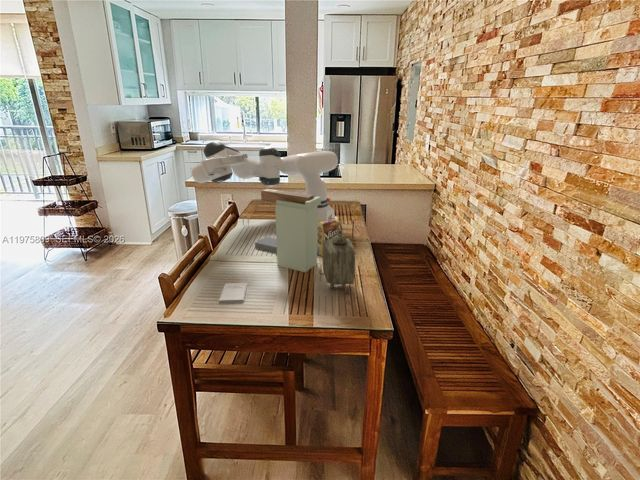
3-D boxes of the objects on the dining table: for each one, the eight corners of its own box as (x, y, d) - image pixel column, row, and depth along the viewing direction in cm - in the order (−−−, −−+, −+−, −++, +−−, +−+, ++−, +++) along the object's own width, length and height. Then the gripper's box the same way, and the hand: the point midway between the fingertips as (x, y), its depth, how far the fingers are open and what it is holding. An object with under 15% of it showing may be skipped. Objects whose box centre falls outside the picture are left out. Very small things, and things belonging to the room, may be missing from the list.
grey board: (266, 241, 179) (266, 236, 179) (317, 252, 167) (317, 247, 166) (255, 247, 172) (254, 242, 171) (307, 259, 160) (307, 254, 159)
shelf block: (289, 257, 162) (288, 192, 151) (320, 264, 155) (320, 196, 145) (277, 265, 154) (275, 197, 144) (308, 273, 148) (308, 202, 137)
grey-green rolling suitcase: (353, 296, 131) (356, 229, 122) (328, 298, 129) (329, 230, 120) (345, 277, 144) (347, 216, 135) (322, 279, 143) (322, 217, 134)
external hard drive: (219, 304, 126) (225, 286, 138) (243, 303, 127) (247, 286, 138) (218, 300, 126) (224, 282, 137) (243, 299, 126) (247, 282, 138)
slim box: (267, 198, 154) (266, 188, 153) (313, 205, 144) (313, 195, 143) (261, 200, 151) (261, 190, 149) (308, 207, 141) (308, 197, 140)
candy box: (321, 256, 163) (322, 223, 157) (316, 253, 166) (316, 221, 161) (338, 252, 168) (339, 220, 162) (332, 249, 171) (333, 217, 165)
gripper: (236, 170, 174) (257, 161, 166) (203, 176, 158) (224, 166, 150) (232, 157, 173) (252, 147, 165) (197, 161, 157) (218, 151, 149)
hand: (238, 156), depth 157 cm, fingers open, 8 cm apart
